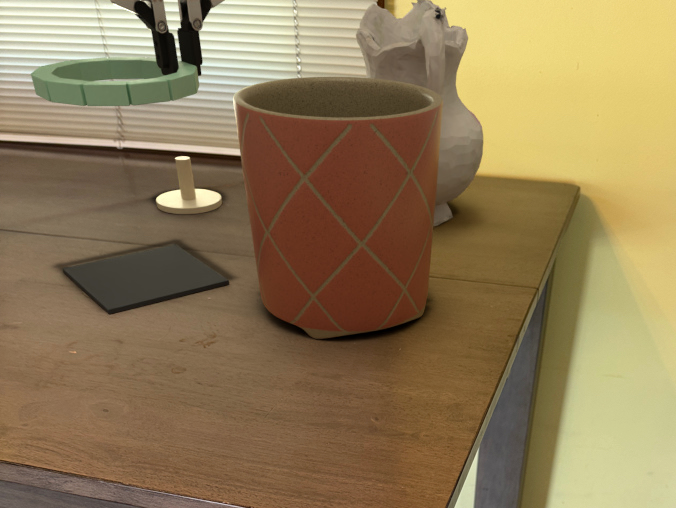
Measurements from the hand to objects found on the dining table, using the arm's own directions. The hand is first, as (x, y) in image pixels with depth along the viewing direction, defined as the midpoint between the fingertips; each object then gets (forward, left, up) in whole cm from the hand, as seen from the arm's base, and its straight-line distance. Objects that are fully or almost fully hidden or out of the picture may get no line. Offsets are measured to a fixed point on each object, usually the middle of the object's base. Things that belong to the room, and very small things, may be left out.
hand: (181, 73), depth 81 cm
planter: (+5, -23, -19) cm, 30 cm away
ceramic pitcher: (+29, -4, -19) cm, 35 cm away
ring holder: (+6, +18, -19) cm, 27 cm away
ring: (-7, 0, -1) cm, 7 cm away
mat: (-10, -4, -19) cm, 22 cm away
